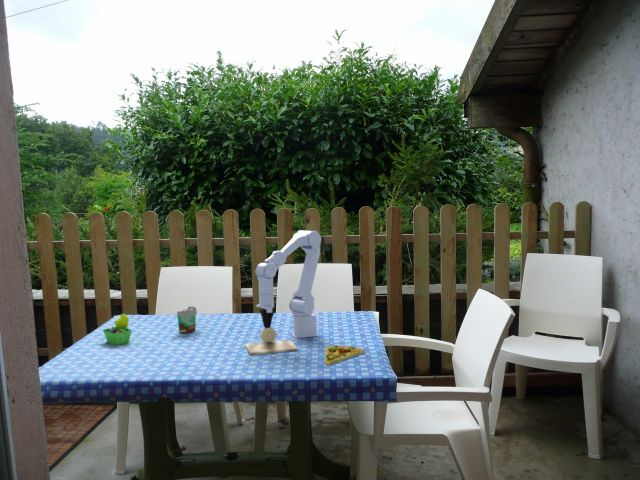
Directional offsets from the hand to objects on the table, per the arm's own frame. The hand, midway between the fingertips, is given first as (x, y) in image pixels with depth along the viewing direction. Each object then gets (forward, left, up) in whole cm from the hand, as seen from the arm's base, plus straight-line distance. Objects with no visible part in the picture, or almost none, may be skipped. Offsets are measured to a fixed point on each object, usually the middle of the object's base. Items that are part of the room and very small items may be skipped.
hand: (267, 327), depth 222 cm
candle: (0, -3, -4) cm, 5 cm away
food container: (+29, -34, -7) cm, 45 cm away
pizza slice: (-21, +27, -8) cm, 35 cm away
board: (0, +6, -7) cm, 9 cm away
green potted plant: (+58, -26, -7) cm, 64 cm away
